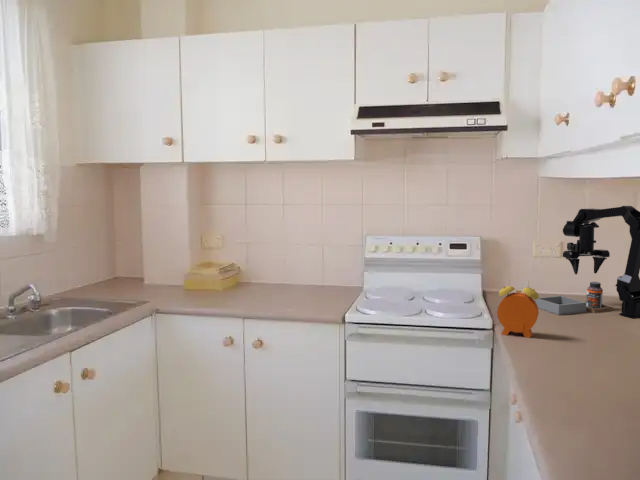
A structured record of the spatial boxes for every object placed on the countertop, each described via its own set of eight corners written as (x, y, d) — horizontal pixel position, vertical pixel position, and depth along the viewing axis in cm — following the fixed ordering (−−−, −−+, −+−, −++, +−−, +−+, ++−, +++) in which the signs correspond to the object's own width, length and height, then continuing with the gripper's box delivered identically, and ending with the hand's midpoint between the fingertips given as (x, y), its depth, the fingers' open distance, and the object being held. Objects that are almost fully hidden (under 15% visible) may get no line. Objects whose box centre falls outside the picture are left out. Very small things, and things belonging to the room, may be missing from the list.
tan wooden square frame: (612, 310, 226) (612, 307, 226) (593, 312, 223) (594, 309, 223) (593, 305, 236) (593, 302, 235) (575, 307, 232) (575, 303, 232)
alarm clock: (537, 334, 194) (540, 278, 191) (536, 338, 188) (538, 281, 186) (498, 329, 200) (500, 275, 197) (496, 334, 194) (498, 278, 192)
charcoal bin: (586, 312, 224) (586, 302, 224) (558, 315, 220) (559, 305, 219) (560, 304, 237) (561, 295, 237) (534, 307, 233) (534, 298, 232)
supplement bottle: (585, 309, 228) (586, 283, 227) (585, 306, 233) (587, 280, 232) (601, 311, 225) (603, 284, 224) (601, 308, 231) (603, 281, 229)
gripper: (593, 235, 245) (592, 270, 246) (555, 236, 241) (554, 272, 243) (611, 237, 234) (609, 273, 235) (571, 239, 231) (570, 275, 232)
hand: (585, 273), depth 236 cm, fingers open, 9 cm apart
